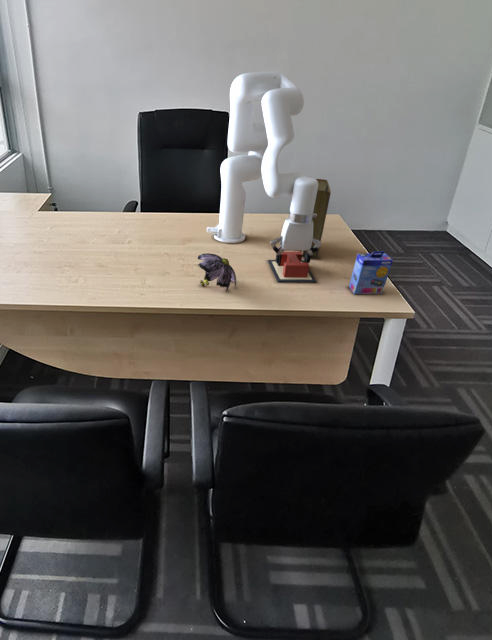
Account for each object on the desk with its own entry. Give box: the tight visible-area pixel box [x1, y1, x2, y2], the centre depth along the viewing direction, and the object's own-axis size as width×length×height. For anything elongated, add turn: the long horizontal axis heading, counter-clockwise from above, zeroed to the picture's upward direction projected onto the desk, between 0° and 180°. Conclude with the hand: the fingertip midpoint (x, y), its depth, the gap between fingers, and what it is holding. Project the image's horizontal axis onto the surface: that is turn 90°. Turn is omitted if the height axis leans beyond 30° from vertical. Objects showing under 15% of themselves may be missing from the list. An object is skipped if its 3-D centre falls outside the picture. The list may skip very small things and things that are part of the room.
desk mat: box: [267, 259, 317, 284], centre depth 173 cm, size 13×18×1 cm
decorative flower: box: [197, 252, 237, 292], centre depth 160 cm, size 14×12×15 cm
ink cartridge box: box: [348, 250, 394, 295], centre depth 157 cm, size 10×6×14 cm, turn 95°
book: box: [300, 178, 332, 259], centre depth 182 cm, size 16×6×25 cm, turn 168°
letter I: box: [280, 251, 310, 278], centre depth 171 cm, size 8×12×4 cm, turn 0°
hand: (292, 264), depth 172 cm, fingers open, 9 cm apart
